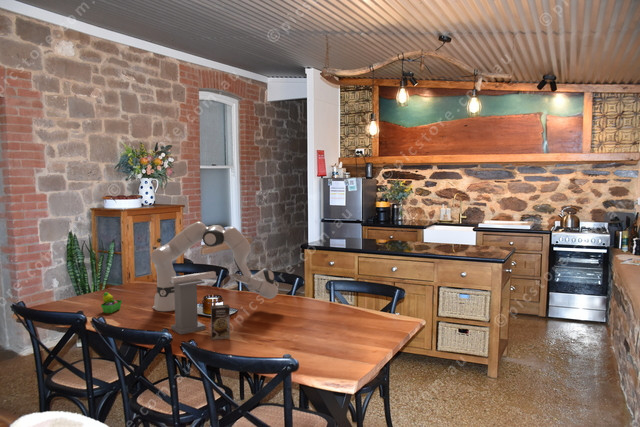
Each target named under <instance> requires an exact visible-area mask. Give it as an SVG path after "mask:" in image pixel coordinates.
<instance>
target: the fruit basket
mask: <svg viewBox="0 0 640 427" xmlns="http://www.w3.org/2000/svg"><path fill="white" fill-rule="evenodd" d="M102 300H103V303H101V304H100V307H101V309H102V312H103V313H104V314H112V313H114V312H117V311H118V310H120V309H121V306H122V303H123V300H120V299H119V300H118V299H114V296H113V295H112V294H110V293H109V292H107V291H106V292H104V293H103V297H102Z"/></svg>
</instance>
